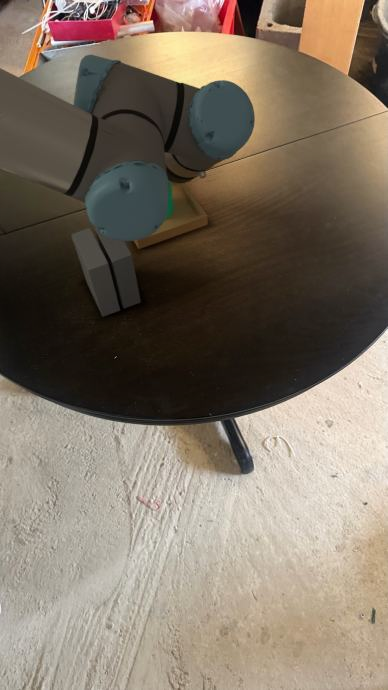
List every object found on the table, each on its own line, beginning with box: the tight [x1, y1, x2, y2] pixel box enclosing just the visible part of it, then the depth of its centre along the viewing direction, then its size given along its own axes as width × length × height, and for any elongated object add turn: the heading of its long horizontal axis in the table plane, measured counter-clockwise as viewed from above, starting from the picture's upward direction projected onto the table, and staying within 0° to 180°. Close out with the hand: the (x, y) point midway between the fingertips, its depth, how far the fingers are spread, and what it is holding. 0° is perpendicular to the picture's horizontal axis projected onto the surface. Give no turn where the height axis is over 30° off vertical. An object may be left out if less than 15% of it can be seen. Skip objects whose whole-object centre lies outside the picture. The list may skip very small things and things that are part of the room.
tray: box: [133, 182, 209, 250], centre depth 91 cm, size 28×14×2 cm, turn 26°
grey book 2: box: [93, 226, 142, 309], centre depth 74 cm, size 8×3×11 cm, turn 26°
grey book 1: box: [70, 227, 121, 318], centre depth 73 cm, size 8×3×11 cm, turn 26°
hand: (147, 182), depth 87 cm, fingers closed on candle, 5 cm apart
